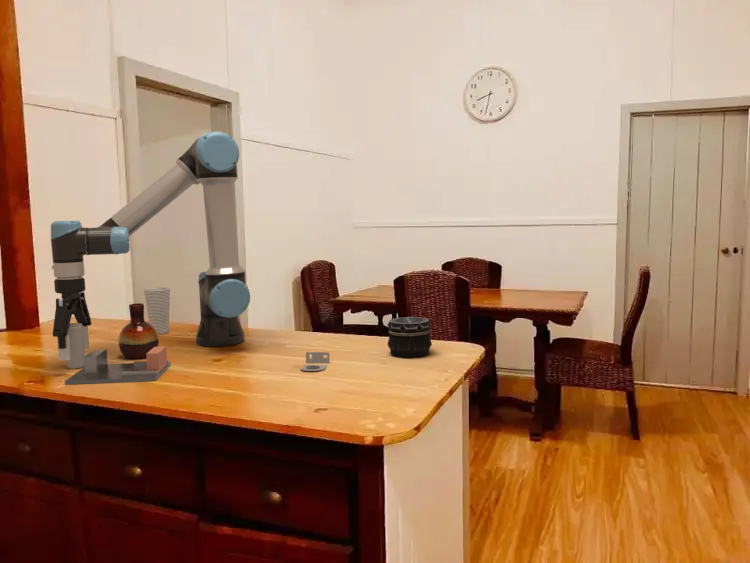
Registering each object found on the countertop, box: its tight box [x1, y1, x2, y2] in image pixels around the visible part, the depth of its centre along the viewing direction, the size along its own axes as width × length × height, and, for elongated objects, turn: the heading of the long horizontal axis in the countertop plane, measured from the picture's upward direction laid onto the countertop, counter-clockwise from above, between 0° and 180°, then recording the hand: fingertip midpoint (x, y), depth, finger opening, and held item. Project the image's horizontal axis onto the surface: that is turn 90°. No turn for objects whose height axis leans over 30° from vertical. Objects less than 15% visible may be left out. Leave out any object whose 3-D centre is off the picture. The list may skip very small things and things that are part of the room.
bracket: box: [300, 351, 330, 372], centre depth 169 cm, size 7×10×4 cm, turn 174°
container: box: [386, 316, 432, 359], centre depth 182 cm, size 13×13×10 cm
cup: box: [143, 286, 171, 335], centre depth 220 cm, size 8×8×16 cm
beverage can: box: [65, 322, 86, 370], centre depth 174 cm, size 5×5×12 cm
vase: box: [117, 302, 160, 360], centre depth 185 cm, size 11×11×15 cm
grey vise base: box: [64, 349, 172, 386], centre depth 165 cm, size 22×16×6 cm
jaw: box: [145, 346, 167, 372], centre depth 166 cm, size 3×8×5 cm, turn 5°
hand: (74, 354), depth 174 cm, fingers open, 13 cm apart
